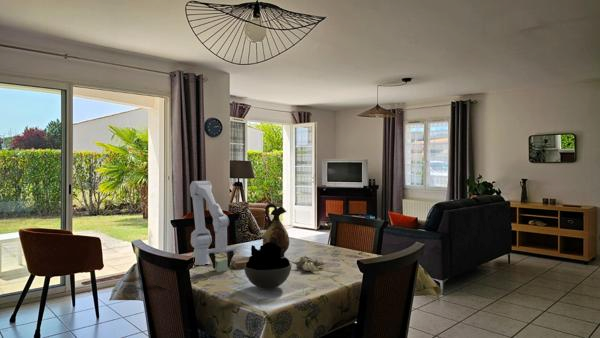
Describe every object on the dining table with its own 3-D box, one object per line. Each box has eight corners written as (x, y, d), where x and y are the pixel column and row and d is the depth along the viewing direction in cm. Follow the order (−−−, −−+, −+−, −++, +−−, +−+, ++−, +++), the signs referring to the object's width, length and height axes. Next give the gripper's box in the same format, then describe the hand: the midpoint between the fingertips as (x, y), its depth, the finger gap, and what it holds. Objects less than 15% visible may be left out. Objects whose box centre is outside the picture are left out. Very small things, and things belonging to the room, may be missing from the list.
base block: (230, 264, 213) (230, 258, 213) (250, 262, 217) (250, 256, 217) (236, 269, 203) (236, 263, 203) (257, 266, 208) (257, 260, 208)
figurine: (324, 254, 211) (334, 262, 195) (323, 266, 211) (334, 275, 195) (287, 254, 206) (294, 262, 190) (286, 266, 206) (293, 275, 190)
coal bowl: (291, 280, 181) (291, 239, 181) (291, 295, 161) (291, 248, 161) (246, 281, 181) (246, 239, 181) (241, 296, 161) (241, 249, 161)
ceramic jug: (291, 252, 240) (290, 202, 239) (287, 258, 224) (287, 205, 224) (262, 252, 241) (262, 202, 241) (257, 258, 226) (257, 204, 226)
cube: (215, 269, 202) (215, 260, 202) (225, 268, 204) (224, 258, 204) (217, 272, 198) (217, 262, 198) (227, 271, 200) (227, 260, 200)
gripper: (208, 242, 194) (208, 271, 194) (237, 240, 200) (237, 267, 200) (205, 240, 200) (205, 267, 200) (233, 237, 207) (233, 264, 207)
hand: (221, 267), depth 201 cm, fingers open, 7 cm apart
